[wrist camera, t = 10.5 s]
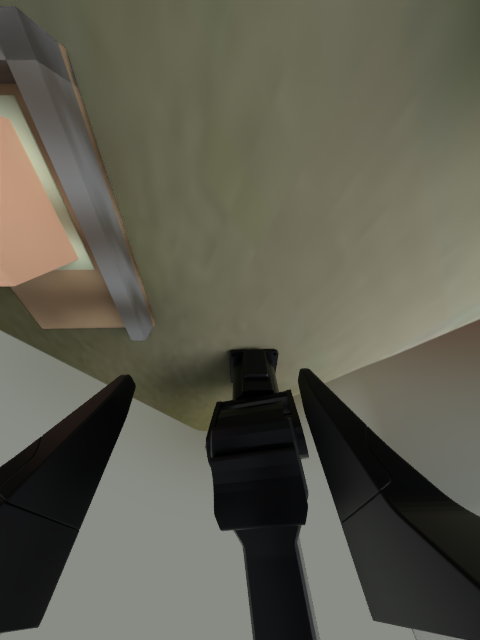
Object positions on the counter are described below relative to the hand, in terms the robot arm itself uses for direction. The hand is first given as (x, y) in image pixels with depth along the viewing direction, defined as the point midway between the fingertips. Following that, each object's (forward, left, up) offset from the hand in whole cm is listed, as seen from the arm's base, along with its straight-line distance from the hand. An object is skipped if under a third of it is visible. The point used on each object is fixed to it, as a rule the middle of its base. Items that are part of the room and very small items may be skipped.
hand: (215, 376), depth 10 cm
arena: (+5, +15, -12) cm, 20 cm away
